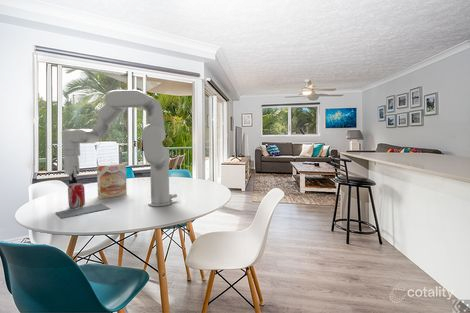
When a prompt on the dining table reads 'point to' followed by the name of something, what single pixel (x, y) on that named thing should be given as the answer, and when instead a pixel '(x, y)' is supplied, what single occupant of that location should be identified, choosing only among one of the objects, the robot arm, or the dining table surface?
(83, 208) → the mat
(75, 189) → the soda can
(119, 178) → the coffeecake box
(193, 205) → the dining table surface
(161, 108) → the robot arm
